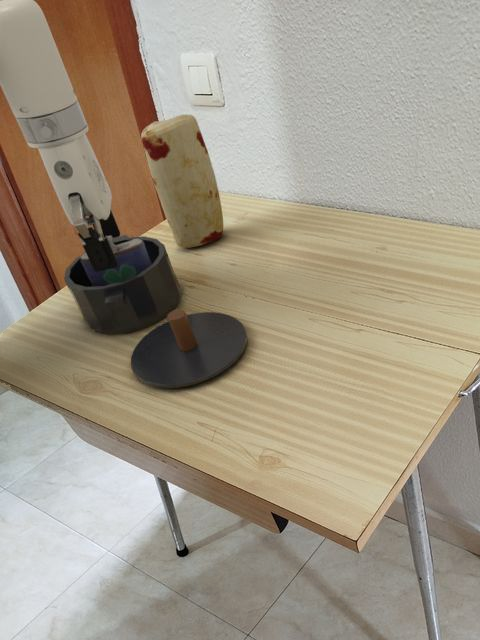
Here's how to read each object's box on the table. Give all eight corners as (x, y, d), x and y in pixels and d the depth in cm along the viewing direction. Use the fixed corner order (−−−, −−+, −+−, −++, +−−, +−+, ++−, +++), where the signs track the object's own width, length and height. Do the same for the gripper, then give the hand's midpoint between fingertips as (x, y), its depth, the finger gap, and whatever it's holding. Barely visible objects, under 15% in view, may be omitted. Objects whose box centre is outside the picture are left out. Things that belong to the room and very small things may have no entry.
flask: (163, 289, 91) (137, 224, 83) (164, 299, 89) (138, 232, 81) (104, 307, 90) (72, 242, 82) (104, 316, 88) (72, 251, 80)
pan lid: (132, 404, 73) (112, 366, 68) (134, 335, 84) (117, 298, 80) (255, 372, 73) (243, 332, 69) (241, 308, 84) (230, 270, 80)
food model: (183, 258, 98) (139, 132, 84) (171, 244, 103) (128, 122, 89) (236, 238, 101) (202, 112, 87) (223, 225, 105) (188, 103, 91)
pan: (81, 355, 82) (56, 310, 77) (91, 285, 97) (71, 243, 91) (183, 329, 83) (165, 282, 78) (178, 263, 97) (163, 220, 92)
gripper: (77, 139, 66) (133, 275, 77) (89, 99, 78) (135, 221, 90) (10, 154, 65) (76, 288, 77) (33, 111, 78) (87, 233, 89)
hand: (108, 252), depth 83 cm, fingers open, 9 cm apart
